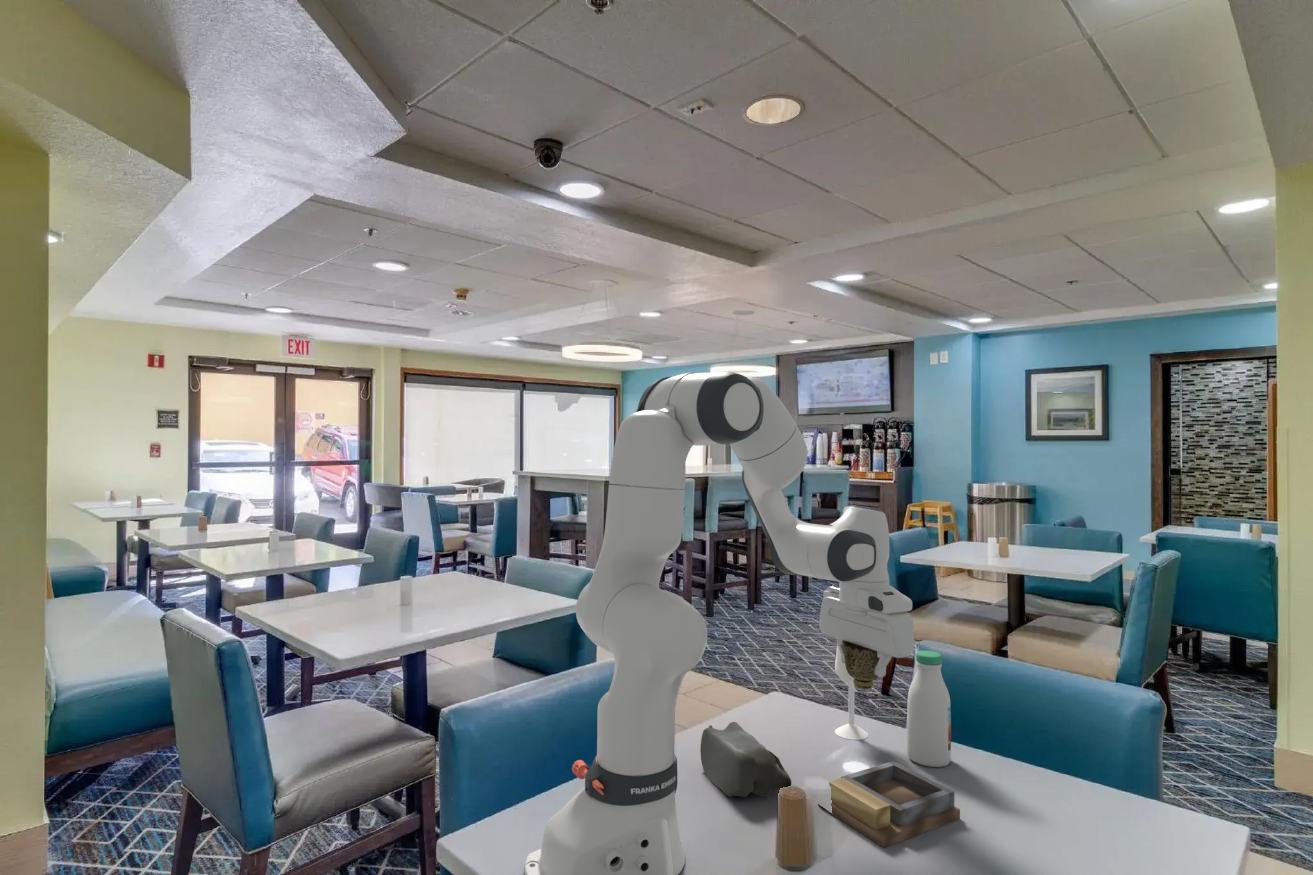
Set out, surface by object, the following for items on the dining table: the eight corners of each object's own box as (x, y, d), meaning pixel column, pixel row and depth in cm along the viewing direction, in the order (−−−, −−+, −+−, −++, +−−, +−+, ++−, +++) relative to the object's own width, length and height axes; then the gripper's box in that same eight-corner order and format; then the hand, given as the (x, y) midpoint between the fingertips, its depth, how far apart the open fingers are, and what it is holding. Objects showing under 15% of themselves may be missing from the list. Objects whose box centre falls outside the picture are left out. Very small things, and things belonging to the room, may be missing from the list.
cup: (886, 695, 124) (887, 650, 124) (843, 692, 125) (844, 647, 125) (881, 682, 131) (882, 639, 131) (841, 679, 133) (841, 636, 133)
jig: (884, 847, 103) (884, 816, 103) (818, 805, 115) (818, 777, 115) (959, 818, 111) (960, 790, 111) (890, 781, 123) (891, 756, 123)
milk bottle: (944, 772, 127) (944, 661, 127) (901, 760, 132) (901, 654, 132) (955, 757, 133) (955, 652, 133) (914, 747, 138) (914, 645, 138)
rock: (801, 800, 116) (801, 752, 117) (741, 813, 112) (741, 763, 112) (747, 755, 134) (747, 714, 134) (693, 765, 129) (694, 722, 130)
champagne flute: (828, 728, 147) (828, 613, 147) (856, 725, 149) (856, 611, 149) (846, 741, 140) (846, 621, 141) (875, 737, 142) (875, 619, 143)
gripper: (812, 585, 136) (811, 656, 136) (894, 606, 118) (894, 688, 118) (836, 583, 139) (835, 652, 139) (920, 602, 121) (919, 682, 121)
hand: (863, 669), depth 128 cm, fingers closed on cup, 6 cm apart
